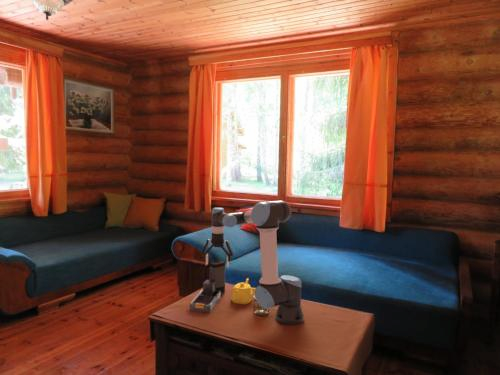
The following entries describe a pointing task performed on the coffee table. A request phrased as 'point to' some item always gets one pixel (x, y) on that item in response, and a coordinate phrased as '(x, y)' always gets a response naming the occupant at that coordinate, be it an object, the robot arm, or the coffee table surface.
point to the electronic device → (218, 275)
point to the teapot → (242, 293)
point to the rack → (206, 298)
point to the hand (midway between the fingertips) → (217, 265)
